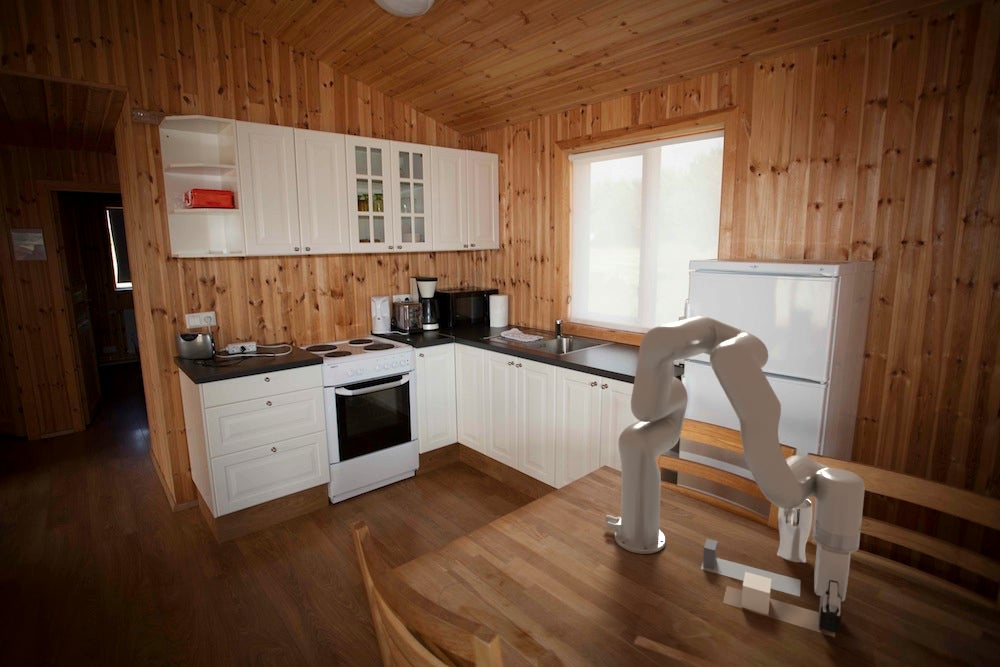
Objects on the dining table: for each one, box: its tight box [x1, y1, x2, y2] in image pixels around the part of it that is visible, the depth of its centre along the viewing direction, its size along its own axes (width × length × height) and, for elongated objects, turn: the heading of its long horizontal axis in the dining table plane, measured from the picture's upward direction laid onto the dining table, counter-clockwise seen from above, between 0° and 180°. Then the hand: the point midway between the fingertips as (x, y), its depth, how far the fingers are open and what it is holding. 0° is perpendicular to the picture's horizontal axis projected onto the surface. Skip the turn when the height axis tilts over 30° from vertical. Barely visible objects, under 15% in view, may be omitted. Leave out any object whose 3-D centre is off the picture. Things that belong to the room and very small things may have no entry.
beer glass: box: [776, 499, 813, 563], centre depth 124 cm, size 7×7×15 cm
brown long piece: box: [722, 585, 836, 638], centre depth 108 cm, size 20×6×6 cm, turn 60°
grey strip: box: [700, 538, 801, 597], centre depth 119 cm, size 20×6×6 cm, turn 60°
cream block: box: [741, 572, 772, 615], centre depth 109 cm, size 5×5×5 cm
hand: (828, 613), depth 103 cm, fingers open, 9 cm apart
